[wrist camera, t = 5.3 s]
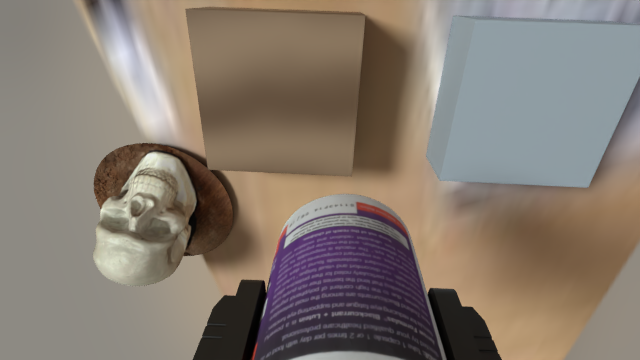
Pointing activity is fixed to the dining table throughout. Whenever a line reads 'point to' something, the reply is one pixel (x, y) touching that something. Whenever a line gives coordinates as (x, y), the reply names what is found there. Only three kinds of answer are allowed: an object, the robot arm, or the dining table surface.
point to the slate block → (531, 99)
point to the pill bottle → (346, 288)
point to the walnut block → (277, 88)
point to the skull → (155, 212)
